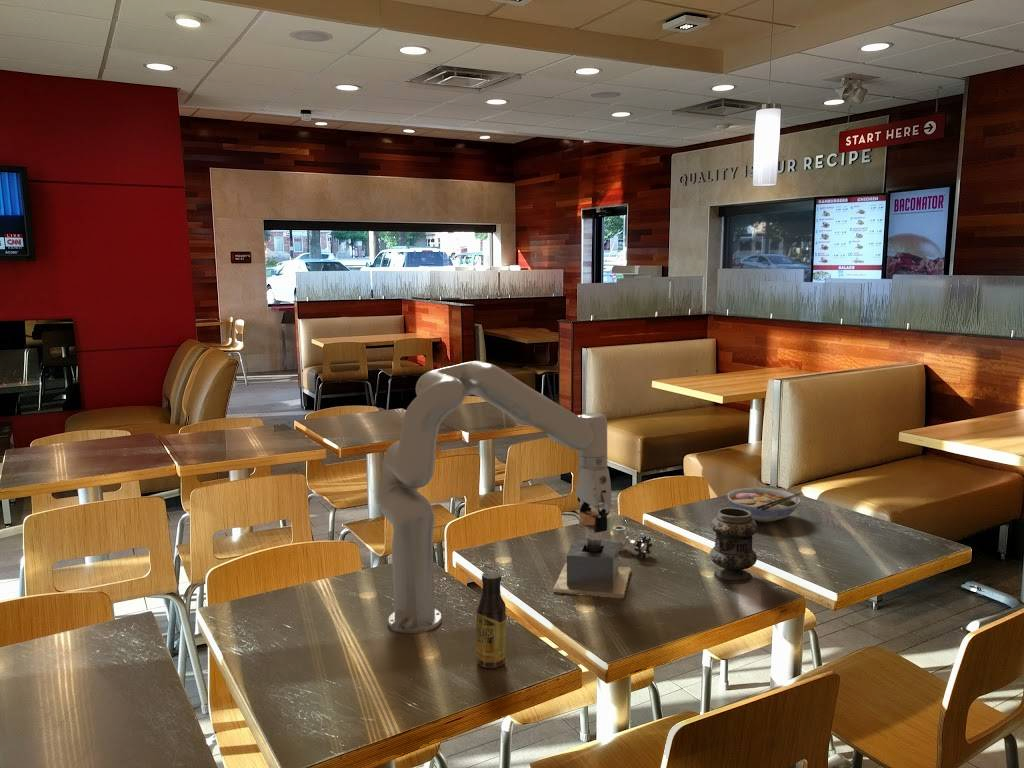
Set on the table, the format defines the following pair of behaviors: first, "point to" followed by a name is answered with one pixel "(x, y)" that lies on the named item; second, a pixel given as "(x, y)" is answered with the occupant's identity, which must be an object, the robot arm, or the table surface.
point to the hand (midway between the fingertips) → (593, 526)
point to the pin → (591, 530)
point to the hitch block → (593, 571)
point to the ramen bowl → (764, 503)
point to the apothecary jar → (733, 545)
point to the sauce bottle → (491, 623)
